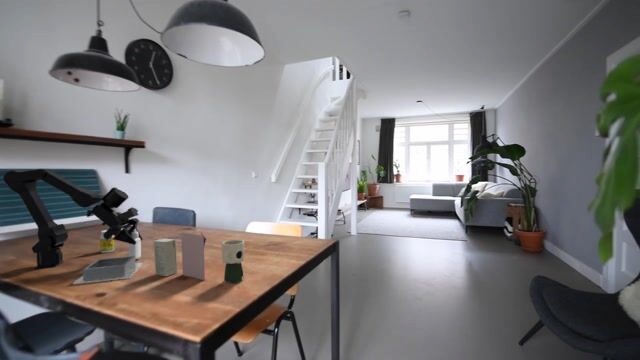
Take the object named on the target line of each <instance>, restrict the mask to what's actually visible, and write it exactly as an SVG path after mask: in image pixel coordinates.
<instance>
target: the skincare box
mask: <svg viewBox="0 0 640 360" xmlns="http://www.w3.org/2000/svg"><path fill="white" fill-rule="evenodd" d="M176 242H177V241H176V239H173V238H160V239H156V240H154V241H153V248H154V270H155V275H157V276H161V277H169V276H172V275H174V274H177V273H178V267H177V266H178V265H177V264H178V263H177V246H176V245H177V243H176Z"/></svg>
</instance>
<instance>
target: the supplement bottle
mask: <svg viewBox="0 0 640 360" xmlns="http://www.w3.org/2000/svg"><path fill="white" fill-rule="evenodd" d="M107 230H108V229H106V230H104V229H103V230H101V233H100V234H101V235H100V236H99V250H100V253H102V254H103V253H112V252H113V251H114V252H115V240H113V238H114V237H115V236H114V235H113V236H112V238H111V239H110V240H106V239H105V238H104V237H103V234H104V233H105V232H106V231H107Z"/></svg>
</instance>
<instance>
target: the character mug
mask: <svg viewBox="0 0 640 360" xmlns="http://www.w3.org/2000/svg"><path fill="white" fill-rule="evenodd" d="M221 257H222V259H221V261H222V263H224V264H225V266H224V276H223V281H225V282H228V283H238V282H241V281H243V279H244V278H245V277H244V270H243V265H242V262H244V260H245V258H246V256H245V241H244V240H242V239H229V240H225V241H223V242H222V243H221Z"/></svg>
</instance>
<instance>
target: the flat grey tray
mask: <svg viewBox="0 0 640 360" xmlns="http://www.w3.org/2000/svg"><path fill="white" fill-rule="evenodd" d="M143 265H144V262H136V259H135V256H129V255H128V256H119V257H118V256H117V257H109V258H107V257H106V258H97V259H96V260H95V261H93V262H91V264H89V265H87V266H86V267H84V268H83V269H82V276H81V277H79V278H78V279H76V280H75V281H73V282H72V285H73V286H75V285H83V284H90V283H91V284H92V283H101V282H109V281H110V282H111V280H112V281H119V280H118V279H121V280H127V279H128V280H129V278H130V279H131V278H132V277H133V276H134V275H135V274H136V272H137V271H139V269H140V268H141V267H142V266H143ZM131 276H132V277H131Z"/></svg>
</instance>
